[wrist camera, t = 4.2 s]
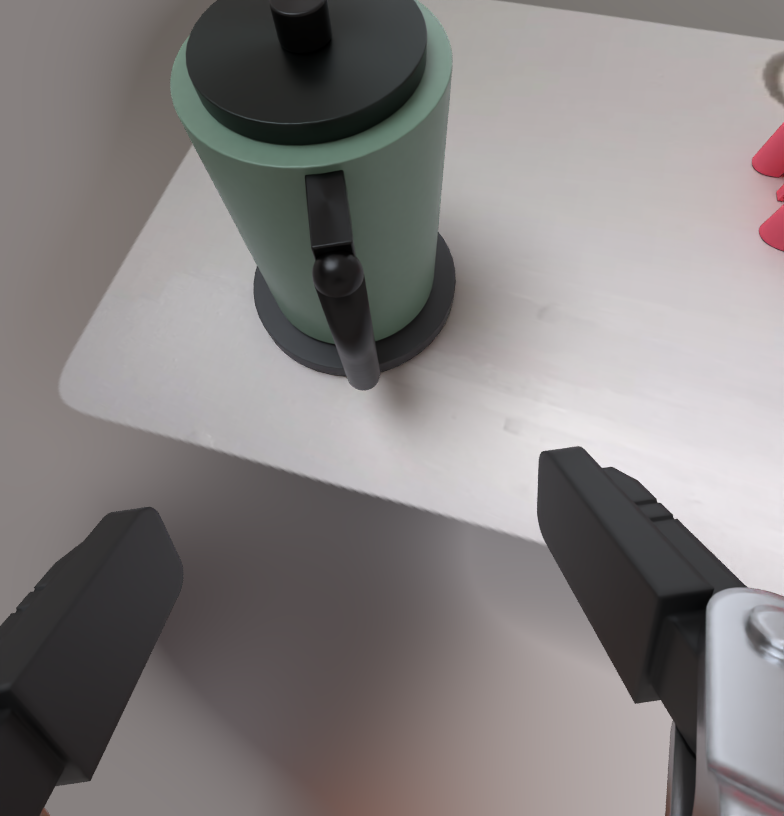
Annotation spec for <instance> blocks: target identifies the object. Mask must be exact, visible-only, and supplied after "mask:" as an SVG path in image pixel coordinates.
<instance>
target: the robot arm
mask: <svg viewBox="0 0 784 816" xmlns="http://www.w3.org/2000/svg"><path fill="white" fill-rule="evenodd" d="M537 516H538V522H539V527H540V530H541V533H542V536H543V538H544V541H545V543H546V544H547V546H548V548H549V550H550V552H551V553H552V555H553V557H554V559H555V560H556V562H557V564H558V566H559V568H560V570H561V571H562V573H563V575H564V577H565V578H566V580H567V582H568V584H569V586H570V588H571V589H572V591H573V593H574V594H575V596H576V598H577V600H578V602H579V604H580V606H581V607H582V609H583V611H584V613H585V614H586V616H587V618H588V620H589V622H590V623H591V625H592V627H593V629H594V631H595V632H596V634H597V636H598V638H599V640H600V641H601V643H602V645H603V647H604V648H605V650H606V652H607V654H608V656H609V658H610V659H611V661H612V663H613V665H614V667H615V668H616V670H617V672H618V674H619V676H620V677H621V679H622V681H623V683H624V685H625V686H626V688H627V690H628V692H629V694H630V695H631V697H632V699H633V701H634V703H635V704H636V703H643V702H649V701H657V700H661V701H662V703H663V704H664V706H665V708H666V709H667V711H668V713H669V714H670V716H671V717H672V719H673V722H672V726H671V734H670V748H669V764H668V765H669V766H668V780H667V797H666V813H665V816H784V596H781V595H778V594H775V593H772V592H768V591H764V590H760V589H754V588H748V587H747V586H745V585H744V584H743V583H742V582H741V581H740V580H739V579H738V578H737V577H736V576H735V575H734V574H733V573H732V572H731V571H730V570H729V569H728V568H727V567H726V566H725V565H724V564H723V563H722V562H721V561H720V560H719V559H718V558H717V557H716V556H715V555H714V554H713V553H712V552H710V551H709V550H708V549H707V548H706V547H705V546H704V545H703V544H702V543H701V542H700V541H699V540H698V539H697V538H696V537H695V536H694V535H693V534H692V533H691V532H690V531H689V530H688V529H687V528H686V527H685V526H684V525H683V524H682V523H681V522H680V521H679V520H678V519H674V518H673V514H671V513H670V512H669V511H668V510H667V509H666V508H665V507H664V506H663V505H662V504H661V503H657V500H656V498H655V497H654V496H653V495H652V494H651V493H650V492H649V491H648V490H647V489H646V488H645V487H644V486H643V485H642V484H641V483H640V482H639V481H638V480H636V479H634V478H632V477H630V476H628V475H626V474H624V473H623V472H621V471H619V470H617V469H615V468H613V467H606V468H601V467H600V465H599V464H598V463H597V462H596V461H595V460H594V459H593V458H592V457H591V456H590V455H589V454H588V453H587V452H586V451H585V450H584V449H583V448H582V447H579V446H577V447H570V448H563V449H556V450H549V451H543V452H541V454H540V457H539V468H538V498H537ZM182 583H183V566H182V562H181V560H180V558H179V555H178V553H177V551H176V549H175V547H174V545H173V542H172V540H171V538H170V536H169V534H168V532H167V530H166V527H165V525H164V523H163V521H162V519H161V517H160V515H159V513H158V512H157V511H156V510H155V509H154V508H152V507H144V508H137V509H131V510H124V511H118V512H117V511H116V512H111V513H109V514H107V515H106V516H105V517H104V518H103V519H102V520H101V521H100V523H99V524H98V525H97V526H96V527H95V528H94V529H93V531H92V532H91V533H90V535H88V537H87V538H86V539H85V540H84V541H83V542H82V543H81V544H79V545H78V546H77V547H75V548H74V549H73V550H72V551H70V552H69V553H68V554H66V555H65V556H64V557H62V558H61V559H60V560H59V561H57V562H56V563H55V564H54V565H53V566H52V568H51V569H50V570H49V571H48V572H47V573H46V574H45V575H44V577H43V578H42V579H41V580H40V581H39V582H38V583H37V585H36V586H35V587H34V588H35V590H34V592H30V593H29V594H28V595H27V596H26V597H25V598H24V600H23V601H22V602H21V603H20V604H19V605H18V607H17V608H16V609H17V611H16V613H12V614H10V616H9V617H8V618H7V619H6V620H5V621H4V623H3V624H2V625H1V626H0V816H50V814H49V813H48V811H47V810H46V809H45V808H44V806H45V804H46V802H47V800H48V799H49V796H50V795H51V793H52V791H53V789H54V787H55V786H59V785H67V784H74V783H80V782H87V781H91V778H92V776H93V774H94V772H95V770H96V768H97V766H98V764H99V761H100V759H101V757H102V755H103V753H104V751H105V749H106V747H107V745H108V743H109V741H110V738H111V736H112V734H113V732H114V730H115V728H116V726H117V724H118V722H119V719H120V717H121V715H122V713H123V711H124V709H125V707H126V705H127V703H128V701H129V698H130V697H131V694H132V692H133V690H134V688H135V686H136V684H137V682H138V679H139V678H140V675H141V673H142V671H143V669H144V667H145V665H146V663H147V661H148V659H149V656H150V654H151V652H152V650H153V648H154V646H155V644H156V642H157V640H158V638H159V636H160V633H161V631H162V629H163V627H164V625H165V623H166V620H167V618H168V616H169V615H170V612H171V610H172V608H173V606H174V604H175V602H176V600H177V598H178V596H179V593H180V591H181V588H182Z"/></svg>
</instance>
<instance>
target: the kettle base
mask: <svg viewBox="0 0 784 816" xmlns="http://www.w3.org/2000/svg"><path fill="white" fill-rule="evenodd" d="M455 282H456V280H455V267H454V262H453V258H452V256H451V253H450V250H449V248H448V246H447V244H446V243H445V241H444V239H443V238H442V236H441V235H440V234H439V232H438V236H437V247H436V258H435V269H434V280H433V285H432V290H431V292H430V295H429V298H428V300H427V302H426V304H425V305H424V307H423V308H422V310H421V311H420V312H419V314H418V315H417V316H416V317H415V318H414V319H413V320H412V321H411V322H410V323H409V324H408V325H406V326H405V327H404V328H402V329H401V330H399V331H398V332H396V333H394V334H392V335H390V336H388V337H386V338H384V339H381V340H378V341H375V344H376V350H377V356H378V362H379V369H380V372H382V371H386V370H389V369H391V368H394V367H396V366H399V365H401V364H403V363H404V362H406V361H408V360H410V359H412V358H413V357H414V356H416V355H417V354H419V353H420V352H421V351H423V350H424V349H425V348H426V347H427V346H428V345H429V344H430V343H431V342H432V341H433V340H434V338H435V337H436V336H437V335H438V334H439V332H440V331H441V329H442V327H443V326H444V324H445V322H446V320H447V318H448V315H449V313H450V310H451V306H452V302H453V297H454V291H455ZM254 299H255V306H256V309H257V312H258V315H259V318H260V319H261V321H262V323H263V325H264V327H265V329H266V330H267V332H268V333H269V335H270V336H271V338H272V339H273V340H274V342H275V343H276V344H277V345H278V346H279V347H280V348H281V349H282V350H283V351H284V352H285V353H286V354H287V355H288V356H290V357H291V358H292V359H294V360H295V361H297V362H299V363H301V364H303V365H304V366H306V367H309V368H311V369H314V370H317V371H320V372H324V373H328V374H333V375H342V376H346V373H345V370H344V368H343V365H342V362H341V359H340V356H339V354H338V351H337V348H336V345H335V344H332V343H327V342H324V341H320V340H317V339H315V338H313V337H310V336H308V335H307V334H305V333H303V332H301V331H300V330H299V329H297V328H296V327H295V326H294V325H292V324H291V322H290V321H289V320H288V319H287V318H286V317H285V315H284V314H283V313H282V311H281V310H280V308H279V306H278V304H277V302H276V300H275V298H274V296H273V294H272V293H271V291H270V289H269V287H268V285H267V283H266V281H265V279H264V277H263V276H262V274H261V272H260V270H259V268H258V266H257V269H256V272H255V278H254Z"/></svg>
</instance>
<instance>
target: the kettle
mask: <svg viewBox="0 0 784 816" xmlns="http://www.w3.org/2000/svg"><path fill="white" fill-rule="evenodd" d="M451 77H452V50H451V45H450V41H449V39H448V36H447V34H446V31H445V30H444V28H443V26H442V25H441V23H440V22H439V20H438V19H437V18H436V17H435V16H434V14H433V13H432V12H431V11H430V10H429V9H428V8H426V7H425V6H424V5H423V4H422V3H420V2H419V1H417V0H217V1H216V2H214V3H213V4H212V5H211V6H210V7H209V8H208V9H207V10H206V11H205V12H204V13H203V14H202V16H201V17H200V18H199V20H198V21H197V22H196V24H195V26H194V27H193V29H192V31H191V33H190V35H189V37H188V38H187V39H186V41H185V42H184V43H183V45H182V47H181V49H180V51H179V53H178V54H177V56H176V59H175V62H174V65H173V68H172V73H171V80H170V82H171V83H170V84H171V96H172V100H173V105H174V108H175V110H176V112H177V114H178V117H179V119H180V121H181V122H182V124H183V126H184V128H185V130H186V132H187V133H188V136H189V138H190V139H191V141H192V143H193V145H194V147H195V149H196V151H197V153H198V155H199V156H200V158H201V160H202V162H203V164H204V166H205V168H206V170H207V172H208V173H209V175H210V177H211V179H212V181H213V183H214V185H215V187H216V189H217V190H218V192H219V194H220V196H221V198H222V200H223V202H224V204H225V206H226V207H227V209H228V211H229V213H230V215H231V217H232V219H233V221H234V223H235V224H236V226H237V228H238V230H239V232H240V234H241V236H242V238H243V240H244V241H245V243H246V245H247V247H248V249H249V251H250V253H251V255H252V257H253V259H254V260H255V262H256V264H257V266H258V268H259V270H260V272H261V274H262V276H263V277H264V279H265V281H266V283H267V285H268V287H269V289H270V291H271V293H272V294H273V296H274V298H275V300H276V302H277V304H278V306H279V308H280V310H281V311H282V313H283V314H284V315H285V317H286V318H287V319H288V320H289V321H290V322H291V324H292V325H294V326H295V327H296V328H297V329H299V330H300V331H301V332H303V333H305V334H307V335H308V336H310V337H313V338H315V339H317V340H320V341H324V342H327V343H332V344H335V345H336V348H337V351H338V354H339V356H340V359H341V362H342V365H343V368H344V370H345V373H346V376H347V379H348V381H349V383H350V384H351V385H352V386H353V387H354V388H356V389H358V390H369V389H371V388H373V387H374V386H375V385H376V384H377V383H378V381H379V378H380V369H379V362H378V356H377V350H376V344H375V341H378V340H381V339H384V338H386V337H388V336H390V335H392V334H394V333H396V332H398V331H399V330H401V329H402V328H404V327H405V326H406V325H408V324H409V323H410V322H411V321H412V320H413V319H414V318H415V317H416V316H417V315H418V314H419V312H420V311H421V310H422V308H423V307H424V305H425V304H426V302H427V300H428V298H429V295H430V292H431V290H432V285H433V280H434V269H435V258H436V247H437V236H438V224H439V213H440V202H441V190H442V179H443V168H444V157H445V145H446V134H447V123H448V111H449V100H450V89H451Z"/></svg>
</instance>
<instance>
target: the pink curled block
mask: <svg viewBox="0 0 784 816" xmlns="http://www.w3.org/2000/svg"><path fill="white" fill-rule="evenodd" d="M752 164H753V167H754V168H755V169H756V170H757V171H758V172H760V173H762V174H765V175H768V176H773V177H780V176H781V175H782V174H783V173H784V122H783V124H782V125H781V126H780V127H779V128H778V129H777V130H776V132H775V133H774V134H773V135H772V136H771V137H770V139H769V140H768V141H767V142H766V143H765V144H764V145H763V147H762V148H761V149H760V150H759V151H758V152H757V153H756V155H755V156H754V157H753V159H752ZM777 199H778V201H784V185H783V186H782V187H781V188H780V189H779V190H778V191H777ZM759 233H760V236H761V237H762V239H763V240H764V241H765V242H766V243H768V244H769V245H771V246H773V247H775V248H777V249H779V250H782V251H784V205H783V206H781V207H780V208H779V209H778V210H777V211H776V212H775V213H774V214H773V215H772V216H771V217H770V218H769V219H768V220H766V221H765V222H764V223H763V224H762V225H761V226H760V229H759Z"/></svg>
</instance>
